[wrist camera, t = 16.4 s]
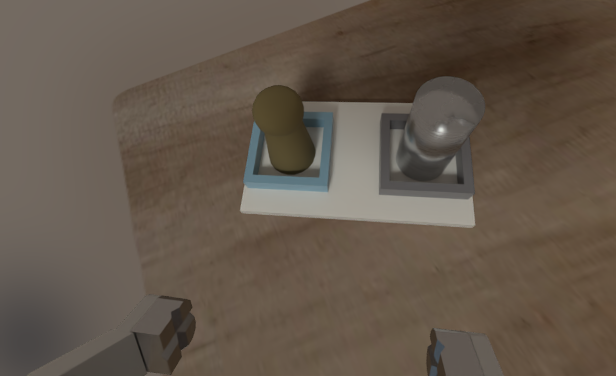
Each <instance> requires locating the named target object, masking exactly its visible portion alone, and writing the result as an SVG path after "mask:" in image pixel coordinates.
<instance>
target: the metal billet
mask: <svg viewBox="0 0 616 376" xmlns="http://www.w3.org/2000/svg"><path fill="white" fill-rule="evenodd" d="M484 112H485V102H484V98H483V96H482V94H481V93H480V91H479V90H478V89H477V88H476V87H475V86H474V85H473V84H471V83H470V82H468V81H466V80H463V79H461V78H457V77H450V76H444V77H437V78H434V79H431V80H429V81H427V82H426V83H424V84H423V85H422V86H421V87H420V88H419V90H418V91H417V93H416V96H415V99H414V102H413V105H412V108H411V111H410V114H409V117H408V120H407V123H406V126H405V129H404V132H403V135H402V138H401V141H400V144H399V147H398V150H397V153H396V162H397V165H398V167H399V169H400V170H401V172H402V173H403V174H405V175H406V176H407V177H409V178H411V179H413V180H417V181H430V180H433V179H435V178H437V177H439V176H440V175H441V174H442V173H443V172H444V170H445V169H446V168H447V166H448V165H449V163H450V162H451V161H452V159H453V158H454V156H455V155H456V154H457V152H458V151H459V149H460V148H461V147H462V145H463V144H464V143H465V141H466V140H467V138H468V137H469V136H470V134H471V133H472V131H473V130H474V129H475V127H476V126H477V124H478V123H479V122H480V120H481V119H482V117H483V115H484Z"/></svg>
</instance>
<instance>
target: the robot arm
mask: <svg viewBox="0 0 616 376" xmlns="http://www.w3.org/2000/svg"><path fill="white" fill-rule="evenodd" d="M191 309H192V304H191V300H188V299H182V298H176V297H169V296H161V295H154V294H149V295H147V296H145V297H144V298H143V299H142V300H141V301H140V303H139V304H138V305H137V306H136V307H135V308H134V309H133V310H132V312H131V313H130V314H129V315H128V316H127V317H126V318H125V319H124V321H123V322H122V323H121V324H120V325H119V326H118V327H117V328H116V330H109V331H108V332H106V333H104V334H102V335H100V336H98V337H96V338H94V339H93V340H91V341H89V342H87V343H85V344H83V345H81V346H79V347H78V348H76V349H74V350H72V351H70V352H68V353H67V354H65V355H63V356H61V357H59V358H57V359H55V360H54V361H52V362H50V363H48V364H46V365H44V366H42V367H40V368H38V369H37V370H35V371H33V372H31V373H29V374H28V375H27V376H145V375H146V374H147V372H152V373H160V374H167V375H171V374H172V372H173V371H174V369H175V367H176V366H177V364H178V362H179V361H180V359H181V357H182V355H181V350H182V349H184V348H185V347H187V346H188V345H189V344H190V342H191V340H192V338H193V335H194V332H195V328H196V321H195V317H194V316H193V315H192V314H191V313H190V311H191ZM430 340H431V345H430V346H428V349H427V359H426V365H427V373H428V376H504V375H503V372H502V370H501V367H500V365H499V363H498V360H497V358H496V356H495V353H494V351H493V348H492V346H491V344H490V341H489V339H488V337H487V336H486V335H485V334H483V333H474V332H465V331H456V330H447V329H438V328H432V330H431V334H430Z"/></svg>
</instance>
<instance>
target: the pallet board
mask: <svg viewBox="0 0 616 376" xmlns="http://www.w3.org/2000/svg"><path fill="white" fill-rule="evenodd" d="M302 103H303V106H304V117H303V122H304V125H305V127H306V129H307V131H308V133H309V135H310V137H311V139H312V142H313V144H314V147H315V158H314V161H313V163H312V164H311V166H310V167H309V168H308V169H306V170H305V171H303V172H302V173H299V174H295V175H286V174H283V173H280V172H279V171H277V170H276V169H274V167H273V166H272V164H271V162H270V158H269V154H268V149H267V144H266V139H265V134H264V132H263V131H261V130H260V129H259V127H258V126H257V125H256V123H255V121H254V125H253V130H252V136H251V142H250V147H249V153H248V158H247V164H246V169H245V175H244V181H243V182H244V184H245V186H244V191H243V197H242V203H241V208H240V211H241V212H242V213H249V214H265V215H280V216H296V217H312V218H328V219H343V220H359V221H375V222H391V223H406V224H422V225H438V226H454V227H469V228H472V227H474V226H475V219H474V208H473V197H472V196H473V195H474V194H475V190H474V179H473V169H472V159H471V148H470V138H469V137H468V138H467V140H466V141H465V143H464V144H463V145H462V147H461V148H460V149H459V151H458V152H457V154H456V155H455V156H454V158H453V159H452V161H451V162H450V163H449V165H448V166H447V168H446V169H445V170H444V172H443V173H442V174H441V175H440V176H439V177H437V178H435V179H433V180H430V181H417V180H413V179H411V178H409V177H407V176H406V175H405V174H403V173H402V172H401V170H400V169H399V167H398V165H397V162H396V153H397V150H398V147H399V144H400V141H401V138H402V135H403V132H404V129H405V126H406V123H407V120H408V117H409V114H410V111H411V108H412V105H413V103H368V102H302Z"/></svg>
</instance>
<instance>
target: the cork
mask: <svg viewBox="0 0 616 376" xmlns="http://www.w3.org/2000/svg"><path fill="white" fill-rule="evenodd" d="M252 114H253V118H254V121H255V123H256V125H257V126H258V127H259V129H260V130H261V131H263V132H264V134H265V139H266V144H267V149H268V154H269V158H270V162H271V164H272V166H273V167H274V169H276V170H277V171H279V172H280V173H283V174H286V175H295V174H299V173H302V172H303V171H305V170H306V169H308V168H309V167H310V166H311V164H312V163H313V161H314V158H315V147H314V144H313V142H312V139H311V137H310V135H309V133H308V131H307V129H306V127H305V125H304V122H303V117H304V106H303V103H302V100H301V98H300V96H299V95H298V94H297V93H296V92H295V91H294V90H292V89H291V88H289V87H286V86H282V85H275V86H271V87H268V88H266V89H264V90H263V91H261V92H260V93H259V94H258V96H257V97H256V99H255V101H254V103H253V109H252Z"/></svg>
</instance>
